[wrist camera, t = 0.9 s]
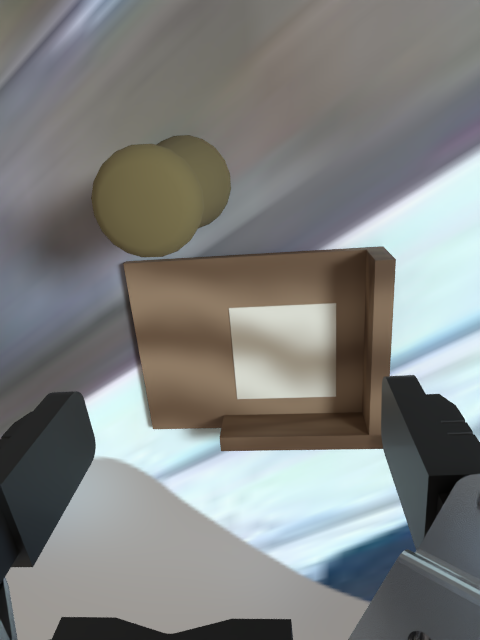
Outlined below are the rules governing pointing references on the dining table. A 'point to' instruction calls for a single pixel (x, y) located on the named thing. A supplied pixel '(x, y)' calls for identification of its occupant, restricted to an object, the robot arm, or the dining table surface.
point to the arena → (267, 345)
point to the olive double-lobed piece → (160, 194)
